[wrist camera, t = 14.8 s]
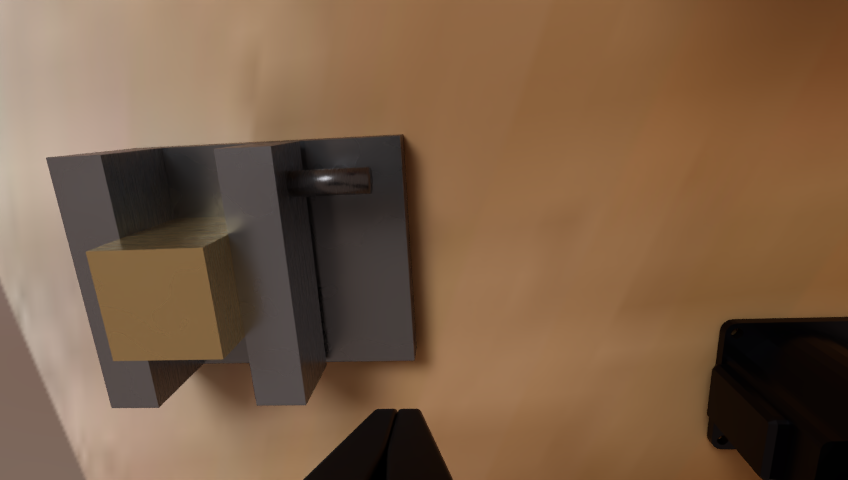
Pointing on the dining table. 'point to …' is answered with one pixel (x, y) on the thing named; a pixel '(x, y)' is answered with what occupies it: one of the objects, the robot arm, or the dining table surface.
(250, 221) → the jaw
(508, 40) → the dining table surface
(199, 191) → the vise base
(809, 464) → the robot arm
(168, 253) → the block
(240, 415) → the dining table surface
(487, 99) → the dining table surface
